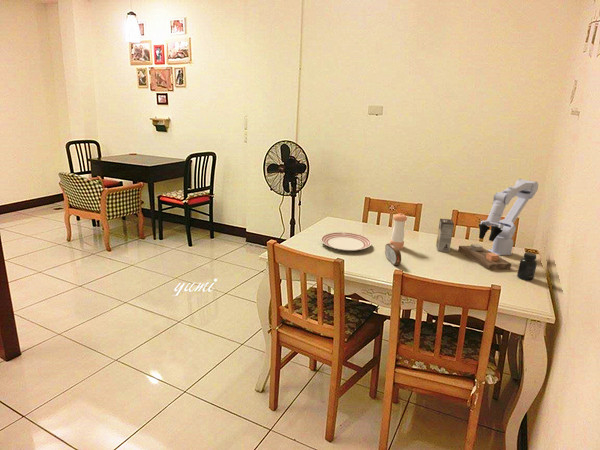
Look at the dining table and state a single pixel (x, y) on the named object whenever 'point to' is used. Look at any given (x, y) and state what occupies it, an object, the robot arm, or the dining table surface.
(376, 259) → the dining table surface
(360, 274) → the dining table surface
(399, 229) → the pepper shaker
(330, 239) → the dinner plate
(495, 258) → the terracotta key
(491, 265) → the board
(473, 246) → the steel key
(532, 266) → the supplement bottle
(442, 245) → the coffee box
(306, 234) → the dining table surface
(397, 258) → the tin
